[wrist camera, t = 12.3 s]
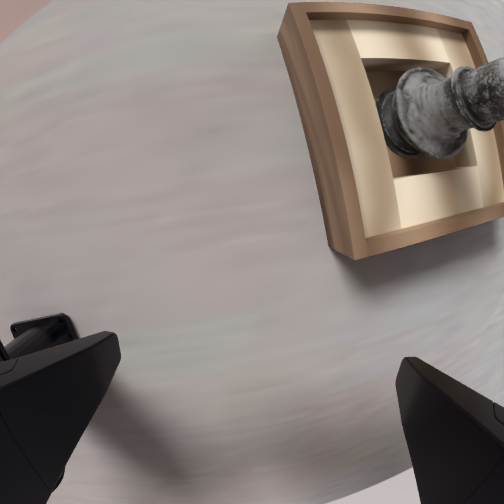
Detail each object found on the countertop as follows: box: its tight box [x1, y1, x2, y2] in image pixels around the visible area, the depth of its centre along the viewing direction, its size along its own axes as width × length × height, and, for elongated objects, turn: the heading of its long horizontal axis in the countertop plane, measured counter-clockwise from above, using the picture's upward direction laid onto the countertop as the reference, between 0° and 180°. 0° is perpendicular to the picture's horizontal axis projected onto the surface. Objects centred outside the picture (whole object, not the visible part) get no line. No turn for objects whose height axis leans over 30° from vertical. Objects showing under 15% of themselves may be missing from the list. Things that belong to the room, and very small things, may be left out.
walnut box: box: [277, 2, 504, 260], centre depth 17 cm, size 15×15×4 cm
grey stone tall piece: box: [376, 58, 504, 159], centre depth 12 cm, size 6×6×12 cm
